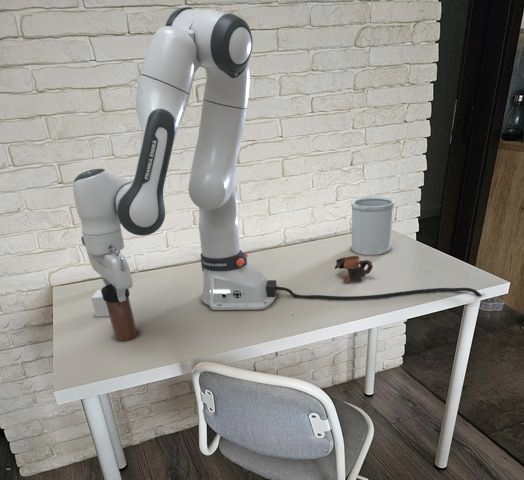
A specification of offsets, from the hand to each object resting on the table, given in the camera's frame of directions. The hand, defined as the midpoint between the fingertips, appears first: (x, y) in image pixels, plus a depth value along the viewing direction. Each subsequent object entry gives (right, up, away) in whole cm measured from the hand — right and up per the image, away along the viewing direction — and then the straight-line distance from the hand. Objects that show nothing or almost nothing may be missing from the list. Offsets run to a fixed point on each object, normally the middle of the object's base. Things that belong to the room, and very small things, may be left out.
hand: (116, 295), depth 121 cm
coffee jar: (+1, -10, +6) cm, 12 cm away
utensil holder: (+77, +23, +55) cm, 98 cm away
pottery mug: (+66, +9, +32) cm, 74 cm away
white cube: (-8, -3, +20) cm, 22 cm away
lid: (0, +1, -1) cm, 2 cm away
